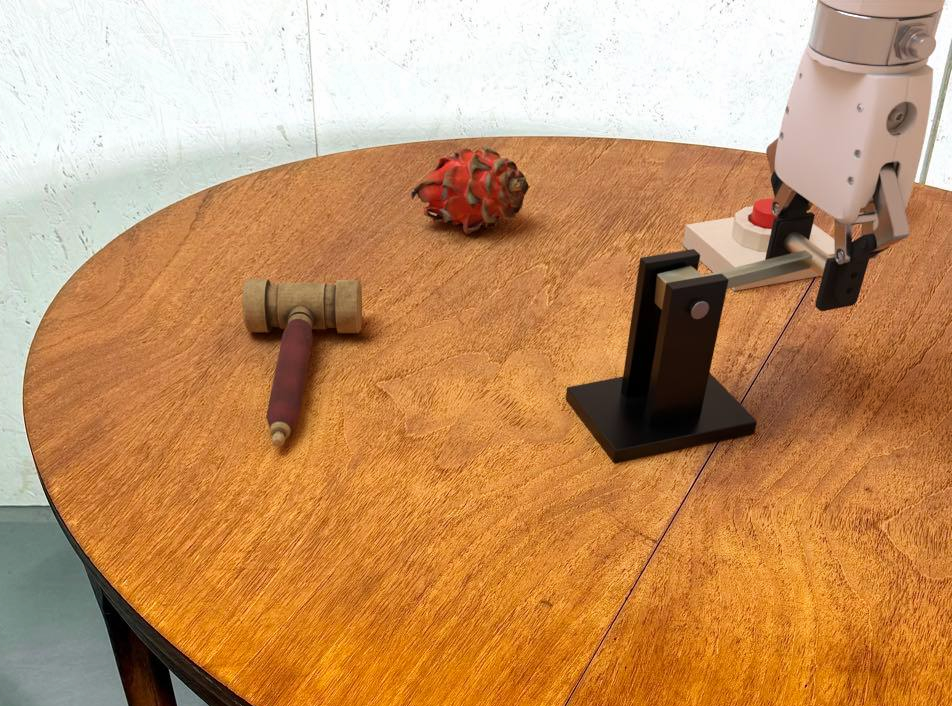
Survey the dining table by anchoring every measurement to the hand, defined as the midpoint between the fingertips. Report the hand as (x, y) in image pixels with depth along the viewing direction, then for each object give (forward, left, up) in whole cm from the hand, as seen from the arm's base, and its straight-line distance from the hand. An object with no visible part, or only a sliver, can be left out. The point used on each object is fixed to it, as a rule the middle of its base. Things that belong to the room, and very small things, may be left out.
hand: (808, 283), depth 80 cm
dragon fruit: (+23, -32, -10) cm, 41 cm away
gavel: (+40, -4, -10) cm, 41 cm away
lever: (+6, +1, 0) cm, 6 cm away
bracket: (+11, +3, -10) cm, 15 cm away
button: (-5, -23, -6) cm, 25 cm away
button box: (-5, -23, -10) cm, 26 cm away
